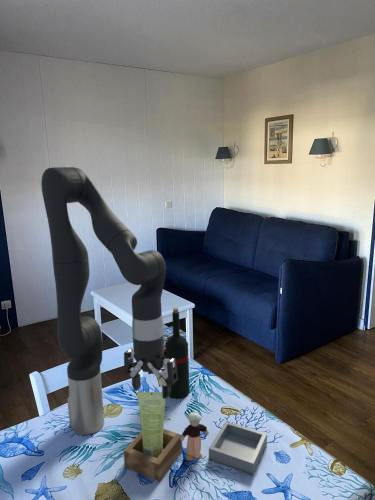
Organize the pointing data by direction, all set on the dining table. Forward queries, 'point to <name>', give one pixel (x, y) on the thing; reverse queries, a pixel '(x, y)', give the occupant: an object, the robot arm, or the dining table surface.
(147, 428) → the tube
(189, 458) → the grandmother figurine
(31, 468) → the dining table surface
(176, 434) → the wooden frame
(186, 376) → the wine bottle
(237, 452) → the tray
